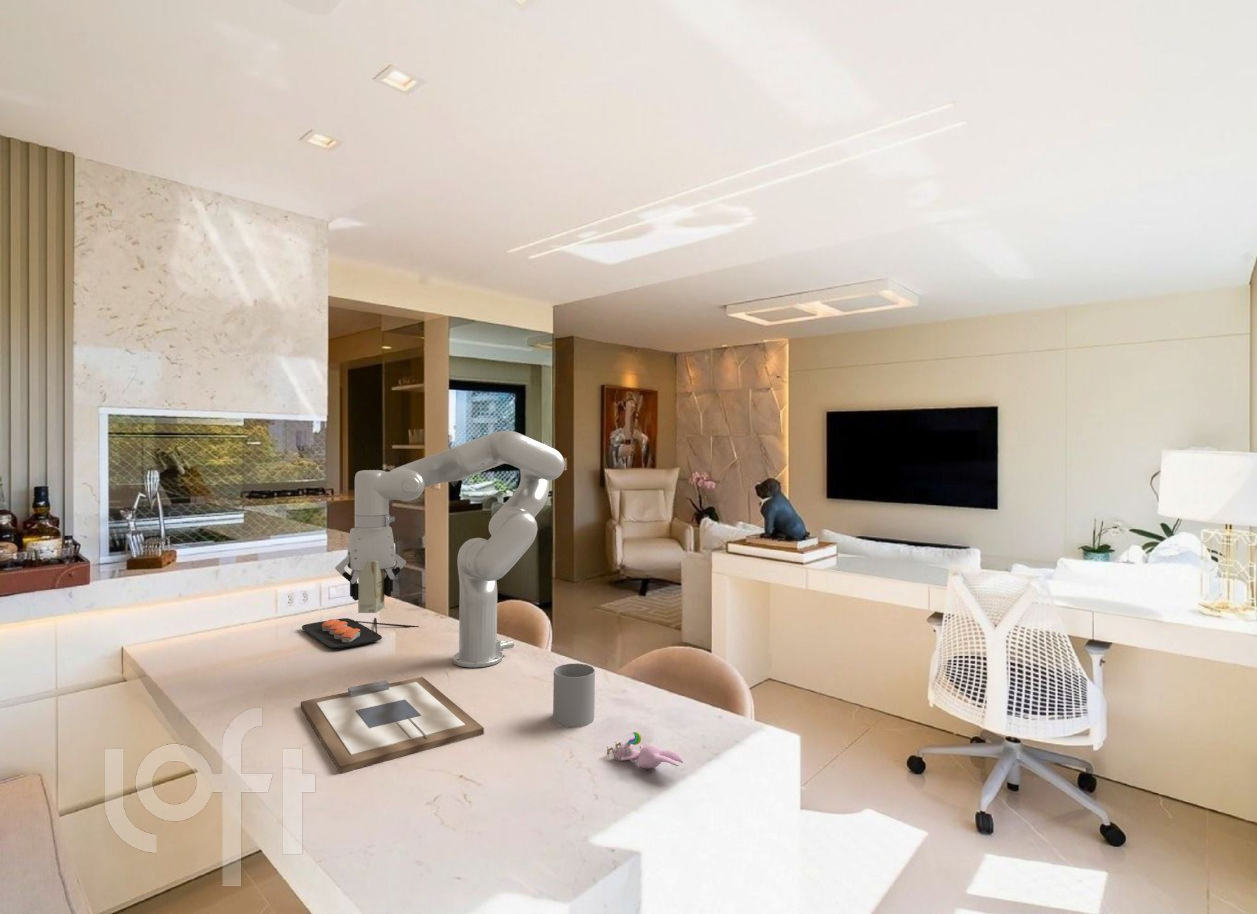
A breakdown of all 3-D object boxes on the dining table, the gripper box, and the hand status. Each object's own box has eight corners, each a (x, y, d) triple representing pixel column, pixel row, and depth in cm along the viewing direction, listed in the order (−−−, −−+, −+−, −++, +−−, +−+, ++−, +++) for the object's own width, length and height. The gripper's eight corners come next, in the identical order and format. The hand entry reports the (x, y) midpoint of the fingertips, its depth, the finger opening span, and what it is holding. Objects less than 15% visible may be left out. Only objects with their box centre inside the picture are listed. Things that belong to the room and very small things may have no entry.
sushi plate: (298, 631, 193) (298, 618, 193) (396, 614, 214) (396, 603, 213) (331, 655, 172) (331, 640, 172) (437, 634, 192) (437, 621, 192)
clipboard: (422, 681, 152) (422, 669, 152) (483, 734, 125) (483, 719, 125) (300, 707, 136) (300, 694, 136) (340, 773, 109) (340, 757, 109)
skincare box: (376, 613, 151) (376, 561, 150) (357, 613, 150) (357, 561, 150) (385, 606, 157) (385, 556, 157) (367, 606, 157) (367, 556, 157)
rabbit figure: (602, 768, 115) (671, 781, 106) (598, 734, 116) (667, 744, 107) (623, 755, 120) (691, 767, 111) (619, 722, 121) (687, 731, 112)
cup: (600, 714, 135) (600, 666, 135) (585, 730, 127) (585, 679, 127) (563, 708, 138) (564, 661, 138) (546, 723, 130) (546, 674, 130)
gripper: (404, 518, 161) (403, 589, 162) (328, 522, 151) (328, 599, 152) (413, 521, 155) (413, 595, 156) (335, 526, 145) (335, 605, 146)
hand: (371, 596), depth 154 cm, fingers closed on skincare box, 6 cm apart
